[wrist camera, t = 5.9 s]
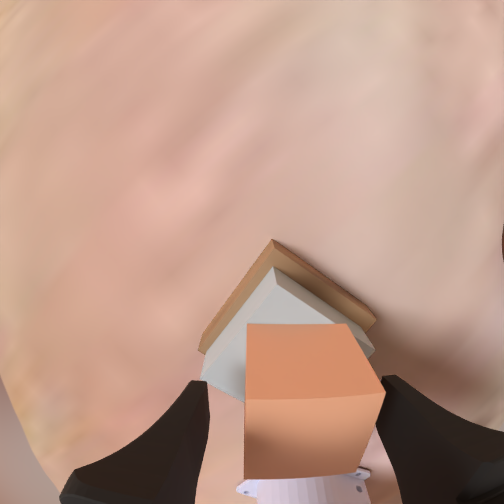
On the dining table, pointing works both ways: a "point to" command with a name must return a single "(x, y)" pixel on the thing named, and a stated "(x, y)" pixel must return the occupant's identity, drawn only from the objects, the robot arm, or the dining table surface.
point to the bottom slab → (301, 275)
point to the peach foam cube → (306, 401)
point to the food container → (503, 243)
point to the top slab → (268, 312)
